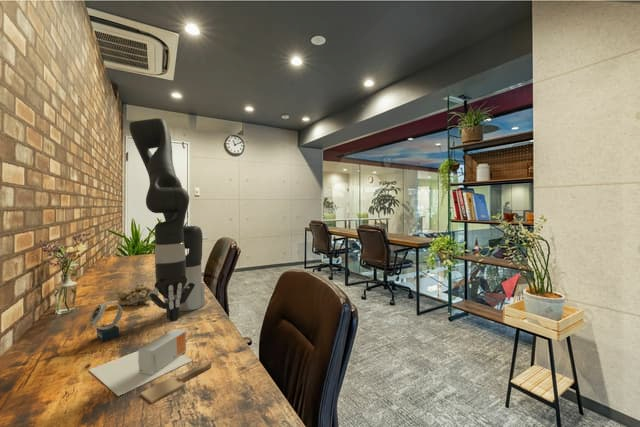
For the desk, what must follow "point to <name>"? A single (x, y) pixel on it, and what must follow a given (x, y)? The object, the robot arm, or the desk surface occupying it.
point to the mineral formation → (133, 295)
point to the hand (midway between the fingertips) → (173, 320)
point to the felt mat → (130, 372)
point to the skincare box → (161, 351)
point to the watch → (109, 330)
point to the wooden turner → (172, 384)
